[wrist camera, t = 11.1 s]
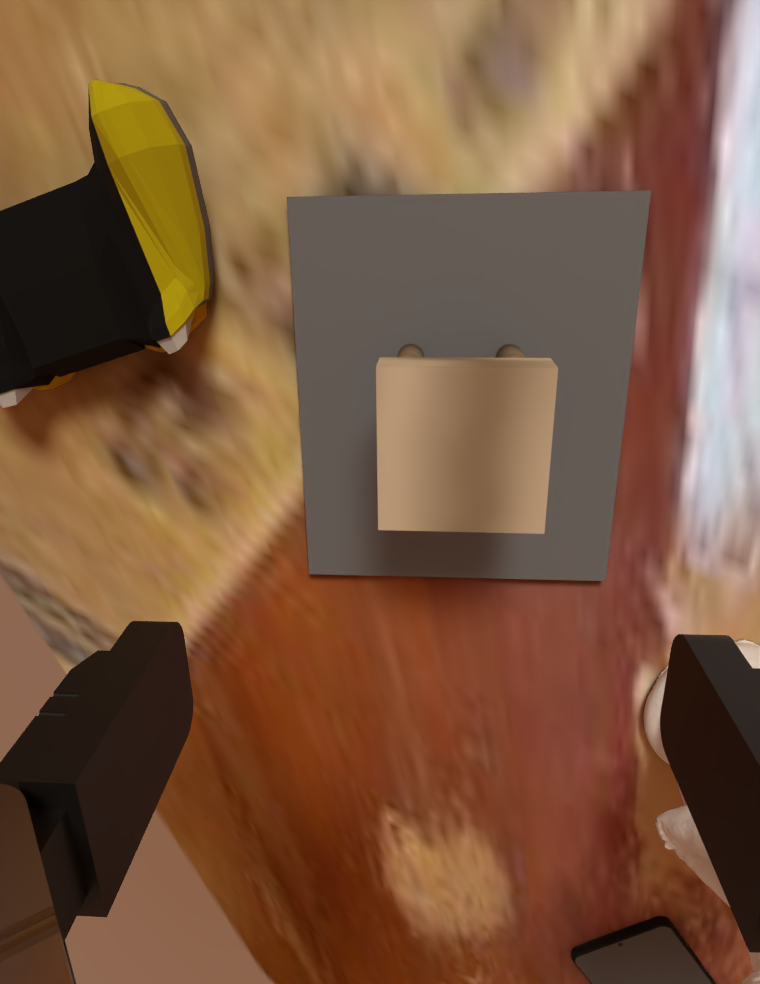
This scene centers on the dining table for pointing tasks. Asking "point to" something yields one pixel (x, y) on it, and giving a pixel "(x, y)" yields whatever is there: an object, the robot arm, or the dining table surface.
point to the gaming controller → (106, 251)
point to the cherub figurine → (679, 822)
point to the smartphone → (641, 956)
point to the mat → (464, 334)
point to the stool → (464, 441)
